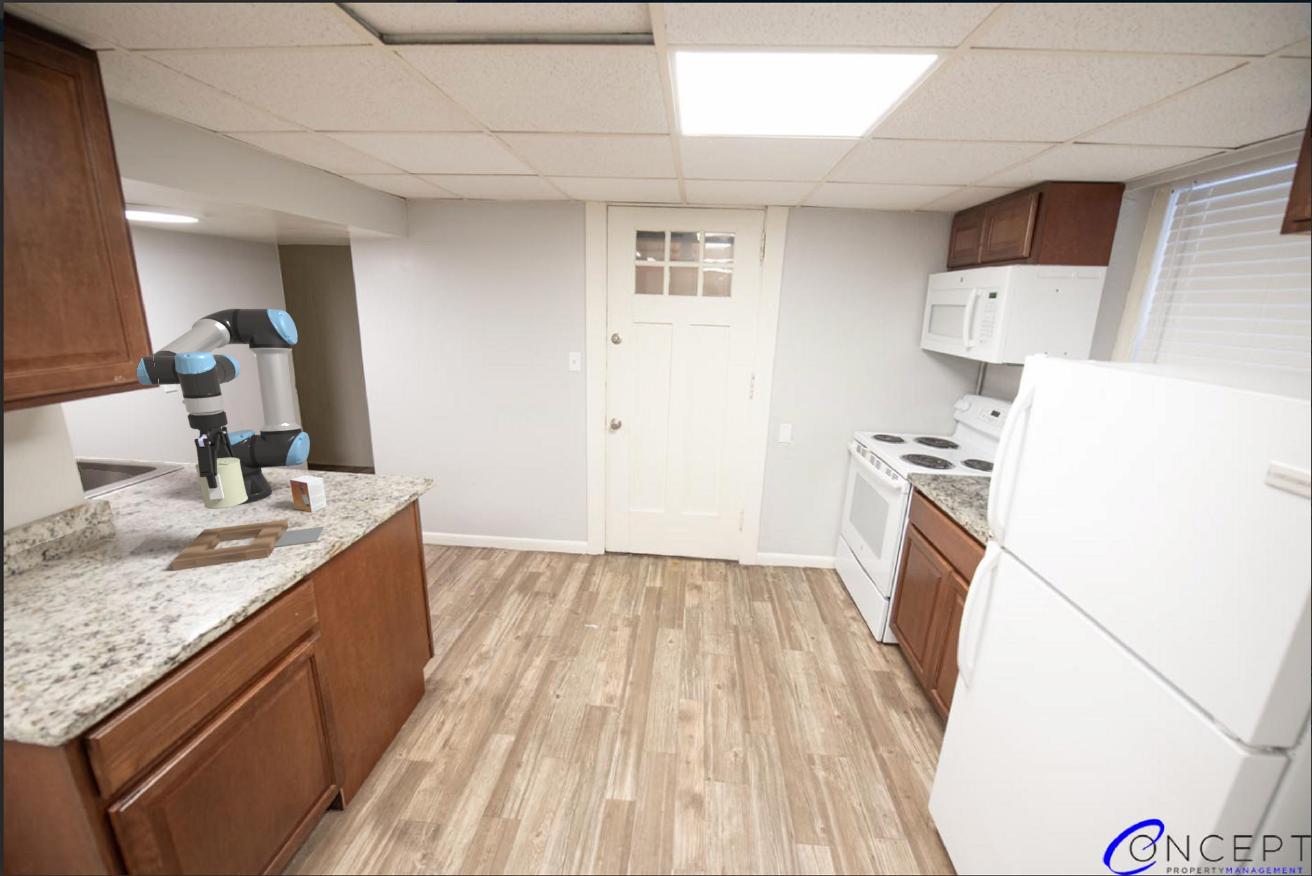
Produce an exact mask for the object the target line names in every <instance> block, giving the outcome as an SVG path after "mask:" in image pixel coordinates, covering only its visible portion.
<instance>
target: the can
mask: <svg viewBox="0 0 1312 876" xmlns="http://www.w3.org/2000/svg"><path fill="white" fill-rule="evenodd" d="M194 467H195V470H196V472H197V477H198V482H199V485H200V490H201V493H202V498H203V504H204V505H203V506H204V508H205V509H211V510H217V509H219V510H220V509H226V508H230V507H231V508H232V507H235V506H238V505H242V504H241V503H243V502H245V501H246V500H247V499H248V497H247V494H246V490H245V486H244V481H243V476H242V471H241V466H240V460H239V459H238V458H218V459H217V475H219V476H220V480H221V485H222V489H223V493H224V498H222V499H212V500H210V495H209V491H208V487H207V483H206V478H205V477H200V472H199V464H198V463H196V464H195V466H194ZM208 472H209V471H208Z"/></svg>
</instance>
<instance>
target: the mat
mask: <svg viewBox="0 0 1312 876" xmlns="http://www.w3.org/2000/svg"><path fill="white" fill-rule="evenodd" d="M324 528H325V527H324V526H319V527H316V526H315V527H309V528H301V529H292V530H286V531H284V533H283V534H282V536H281V537H280V539H279V540H278V542H277V543H276V545H275V548H281V547H289V546H296V545H304V544H310V543H317V542H318V540H319V538H320V536H321V533H322V532H323V530H324Z"/></svg>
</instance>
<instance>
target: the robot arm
mask: <svg viewBox="0 0 1312 876" xmlns="http://www.w3.org/2000/svg"><path fill="white" fill-rule="evenodd" d="M191 326H192V327H191V329H190V330H188V331H186V332H185V333H183V334H182V335H180V336H179V337H177V338H176V339H174V340H172V341H171V342H169V343H168V344H167V345H165V346H164V347H162V348H161V349H159V350H158V351H156V352H155V353H153V354H151V355H149V356H148V355H147V356H146V355H144V356H145V357H143V358H141V361H140V363H139V365H138V368H137V377H138V379H139V383H141V384H142V385H143V386H144V385H145V386H146V385H147V386H148V385H149V386H160V385H162V386H163V385H165V386H167V385H180V389H181V394H182V398H183V400H182V401H181V402H182V404H184V405H185V410H186V412H187V414H188V415H187V420H188V424H189V427H190V428H191V429H193V430H198V431H199V437H198V438H194V444H195V448H196V454H197V461H198V462H197V464H199V472H200V477H205V478H206V483H207V487H208V491H209V495H210V500H212V499H222V498H224V493H223V489H222V485H221V480H220V476H219V475H217V459H218V458H238V459H239V460H240V466H241V471H242V476H243V481H244V486H245V490H246V494H247V497H248V499H247V500H246V501H245V502H243V503H241V504H240V505H242V504H243V505H244V504H249V503H250V504H251V503H254V502H257V501H261V500H263V499H266V498H268V497H269V496H271V495H272V494H273V489H272V486H271V484H270V482H269V481H268V480H267V478H266V477H265V475H264V474H263V470H262V468H263V469H264V468H278V467H293V466H300V465H302V464H304V463H305V462H306V461H307V459H308V456H309V455H310V454H309V453H310V446H311V445H310V444H311V441H310V438H309V437H310V436H309V434H308V432H305V431H302V426H300V425H299V424H298V423H297V422H296V416H295V410H294V409H295V408H294V398H293V392H292V390H293V389H292V383H291V382H292V381H291V376H290V367H289V366H290V365H289V357H288V355H289V354H290V353H291V352H292V350H293V345H296V344H297V343H298V331H297V328H296V324H295V322H294V320H293V319H292V317H291V315H290V314H289V313H288V312H286V311H285V310H283V309H271V308H227V309H223V310H222V309H221V310H220V311H216V312H213V313H211V314H210V313H209V314H208V315H205V316H203V317H201V318H200V319H198V320H196V321H195V322H194V323H193V324H192V325H191ZM227 345H248V347H249V351H251V353H254V355H255V356H256V357H255V358H256V366H257V374H258V382H259V390H260V397H261V405H262V412H263V413H262V414H263V420H264V425H263V426H262V427H261V428H260V429H259V433H260V434H256V432H255V431H254V430H253V429H244V430H243V429H242V430H237V431H231V432H228V427H227V424H228V423H229V422H228V417H227V412H226V411H224V410H225V409H226V407H225V403H224V398H223V394H222V391H221V384H224V383H229V382H231V381H233V380H235V379H236V378H238V377H239V375H240V373H241V366H240V365H241V364H240V363H239V362H238V360H237V359H235V358H234V357H232V356H231V355H228V354H221V353H220V354H212V353H211V352H213V351H214V350H215V349H220V348H223V347H226V346H227ZM152 355H153V356H154V361H153V358H152ZM154 363H155V367H154ZM158 379H159V385H158ZM208 471H209V472H208Z"/></svg>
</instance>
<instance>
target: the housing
mask: <svg viewBox="0 0 1312 876" xmlns="http://www.w3.org/2000/svg"><path fill="white" fill-rule="evenodd" d="M288 529H289V524H288V520H287V519H282V520H281V519H280V520H275V521H274V520H273V521H266V522H265V521H263V522H256V523H249V524H239V525H231V526H223V527H214V528H206V529H204V530H202V531H201V532H200V533H199V534H198V535H196V537H195V538H194V539H193V540H192V541H190V543H189V544H188V545H187V546H186V547H185V548H184V549H183V550H182V551H181V552H180V553H179V554H178V555H176V557H175V558H174V559H173V560H172V561H171V565H172V566H171V567H172V571H175V572H176V571H182V570H188V569H190V570H191V569H195V568H196V569H197V568H203V567H208V566H217V565H223V564H231V563H238V562H245V561H251V560H252V561H253V560H258V559H266V558H269V557H270V556H271V554H272V552H273V551H274V549H276V547H275V545H276V543H277V542H278V540H279V539H280V537H281V536H282V534H283V533H284V531H288ZM252 538H254V540H253V541H252V542H251V543H250V544H242V545H235V546H228V547H221V548H219V547H218V548H216V547H217V546H218V545H219V544H220V543H222V542H230V541H238V540H245V539H246V540H247V539H252Z"/></svg>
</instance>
